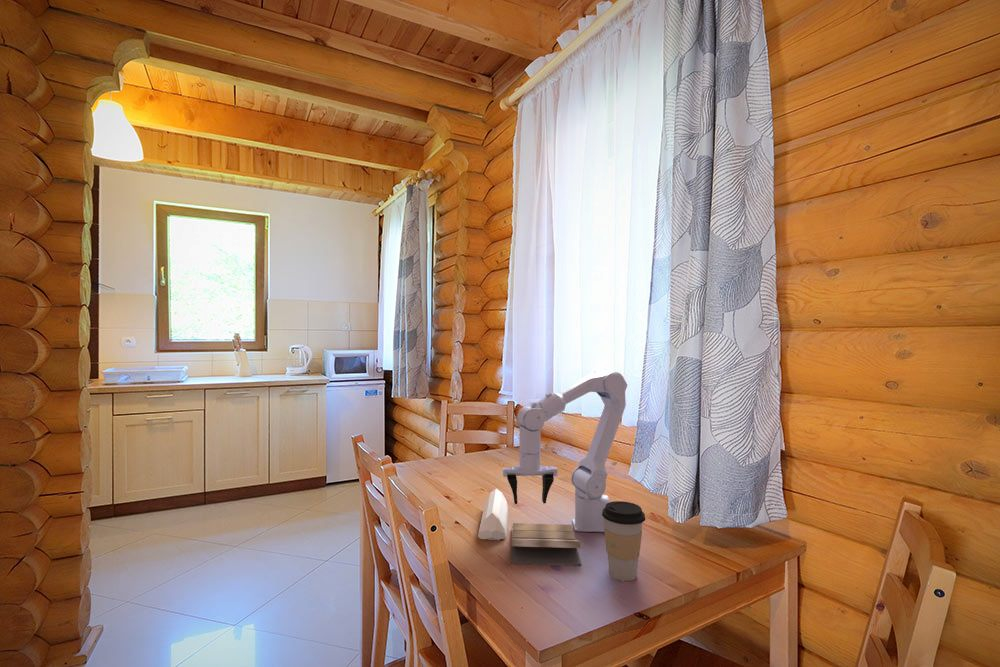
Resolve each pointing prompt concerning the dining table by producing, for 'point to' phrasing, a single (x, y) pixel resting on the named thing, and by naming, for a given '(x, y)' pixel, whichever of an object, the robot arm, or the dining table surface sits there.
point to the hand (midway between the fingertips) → (529, 502)
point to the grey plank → (545, 543)
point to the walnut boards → (543, 531)
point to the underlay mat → (545, 555)
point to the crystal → (494, 517)
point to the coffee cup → (623, 538)
